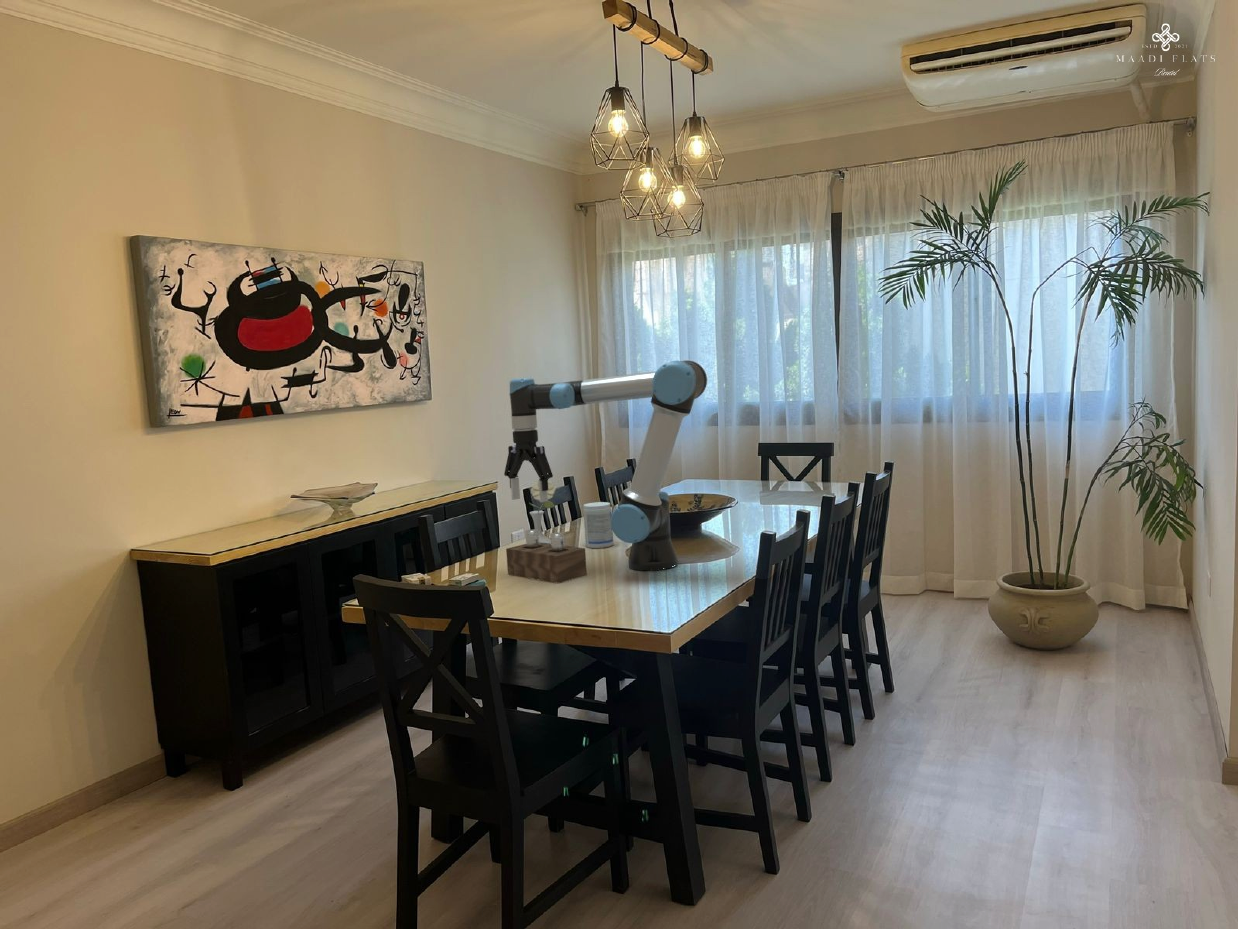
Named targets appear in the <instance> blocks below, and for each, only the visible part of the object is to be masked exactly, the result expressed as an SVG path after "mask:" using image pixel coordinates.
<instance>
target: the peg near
mask: <svg viewBox="0 0 1238 929" xmlns="http://www.w3.org/2000/svg"><path fill="white" fill-rule="evenodd" d="M564 535H565V533H564V532H561V531H560V532H552V533H549V537H550V538H549V539H550V541H551V552H556V553H559V552H562V551H565V548H564V546H565V537H564Z"/></svg>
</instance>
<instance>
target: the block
mask: <svg viewBox="0 0 1238 929" xmlns="http://www.w3.org/2000/svg"><path fill="white" fill-rule="evenodd" d="M564 548H565V551H562V552H559V553H556V552H551V544H550V543H542V542H539V548H535V549H528V548H526V544H525V543H524V544H520V545H516V546H512V547H508V548H506V549H505V551H506V564H507V565H506V566H507V567H506V568H507V575H509V576H514V575H516V576H515V577H520V578H527V579H531V578H534V579H533V580H537V579H539V580H538V581H543V580H544V582H548V581H549V583H554V582H557V583H556V584H559V583H558V582H560V583H563V582H567V581H570V580H573V579H576V578H580V577H583V575H584V576H587V575H588V574H587V558H586V554H587V553H586V548H585V547H578V546H571V545H564ZM572 578H573V579H572ZM569 579H570V580H569ZM566 580H567V581H566Z"/></svg>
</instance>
